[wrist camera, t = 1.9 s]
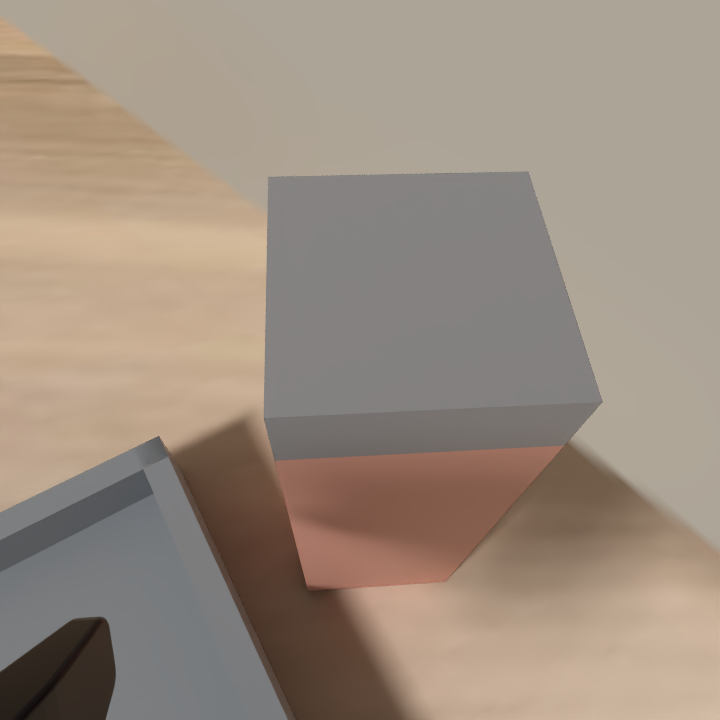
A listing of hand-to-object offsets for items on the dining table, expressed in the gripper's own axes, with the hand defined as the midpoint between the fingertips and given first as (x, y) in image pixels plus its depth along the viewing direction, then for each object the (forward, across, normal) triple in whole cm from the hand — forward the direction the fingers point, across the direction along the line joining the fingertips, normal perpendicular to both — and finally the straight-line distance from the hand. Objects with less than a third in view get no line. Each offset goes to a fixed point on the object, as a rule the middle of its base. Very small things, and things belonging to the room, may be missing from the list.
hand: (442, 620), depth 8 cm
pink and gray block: (+11, 0, +5) cm, 12 cm away
